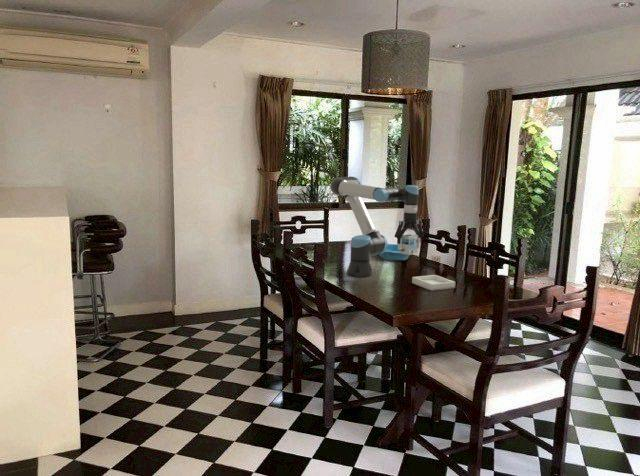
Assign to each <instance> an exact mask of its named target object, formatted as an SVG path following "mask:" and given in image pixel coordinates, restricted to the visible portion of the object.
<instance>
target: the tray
mask: <svg viewBox="0 0 640 476" xmlns="http://www.w3.org/2000/svg"><path fill="white" fill-rule="evenodd" d="M411 283H412V284H414V285H416V286H418V287H422V288H424V289H426V290H429V291H431V292H432V291H433V292H435V291H440V290H441V291H442V290H451V289H456V281H455V280H450V279H448V278H445V277H443V276H440V275H437V274H429V275H419V276H412V278H411Z"/></svg>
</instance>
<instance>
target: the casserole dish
mask: <svg viewBox="0 0 640 476" xmlns="http://www.w3.org/2000/svg"><path fill="white" fill-rule="evenodd" d="M399 252H400V250H399V249H398V244H397V243H388V245H387V249H386V251H385V252H384V253H381V254H379V255H378V256H379V257H380V258H381V259H382V260H385V261H406V260H408V258H409V257H410V255H407V254H401V253H399Z"/></svg>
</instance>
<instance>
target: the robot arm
mask: <svg viewBox="0 0 640 476" xmlns="http://www.w3.org/2000/svg"><path fill="white" fill-rule="evenodd" d="M329 187H330V191H331V192H332V194H333V195H335V196H343V199H344V200H345V201H346V202H348V203H349V206H350V208H351V210H352V213H353V215H354V217H355V220H356V222H357V224H358V227H359V229H360V231H361V233H362V234H359V235H354V236H353V237H352V238H351V241H350V261H349V264H348V267H347V271H346V274H347V275H348V276H350V277H354V278H355V277H356V278H365V277H366V278H367V277H371V276H372V275H373V270H372V268H371V267H372V266H371V263H370V261H371V258H370V257H371V256H377V255H378V256H379V254H381V253H384V252H385V251H386V249H387V245H388V244H389V242H388V238H386V237H385V235H382V234H381V233H380V230H378V229H377V228H376V227H375V225H374V222H373V221H372V218H371V216H370V214H369V210H368V209H367V207H366V205H365V203H364V200H363V198H364V199H368V200H372V201H373V200H375V201H376V202H378V203H379V202H380V203H384V202H396V201H397V202H404V205H403V206H404V207H403V208H404V209H403V211H404V213H403V219H404V220H399V222H398V225H397V229H396V231H395V233H394V235H393V236H394V238H397V239H396V244H398V249H399V250H402V239H401V237H402V236H403V235H405V234H406V231H407V230H408V229H413V231H414V233H415V235H418V249H417V250H419V249H420V247H421V245H420V243H421V242H422V241H421V240H422V238H423V237H424V236H425V234H424V230H423V226H422V220H419V219H418V220H417V218H418V204H419V203H418V202H419V195H420V194H419V186H418V185H414V184H413V185H411V184H407V185H405V188H404V187H403V188H402V187H395V186H394V187H389V188H385V187H377V186H373V185H366V184H363V183H362V181H361V180H360V179H359V178H358V177H356V176H338V177H335V178H333V180H332V181H331V182H330V184H329Z"/></svg>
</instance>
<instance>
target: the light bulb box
mask: <svg viewBox="0 0 640 476" xmlns="http://www.w3.org/2000/svg"><path fill="white" fill-rule="evenodd" d="M401 239H402V250H400V252H399V253H401V254H407V255H409V256H410V255H413V254H417V253H418V250H419V249H418V235H416V233H415V234H414V233H404V234H403V236H402V237H401Z"/></svg>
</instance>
